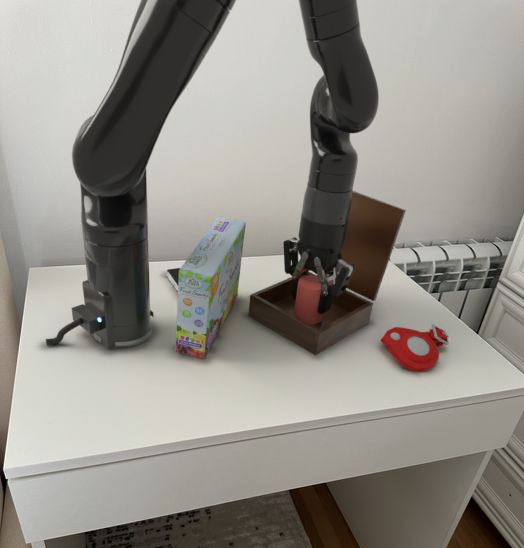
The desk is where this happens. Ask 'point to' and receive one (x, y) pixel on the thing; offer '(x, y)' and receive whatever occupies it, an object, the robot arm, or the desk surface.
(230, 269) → the snack box
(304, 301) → the pink cylinder
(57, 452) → the desk surface
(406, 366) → the red rounded piece
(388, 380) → the desk surface
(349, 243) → the lid
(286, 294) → the chest
